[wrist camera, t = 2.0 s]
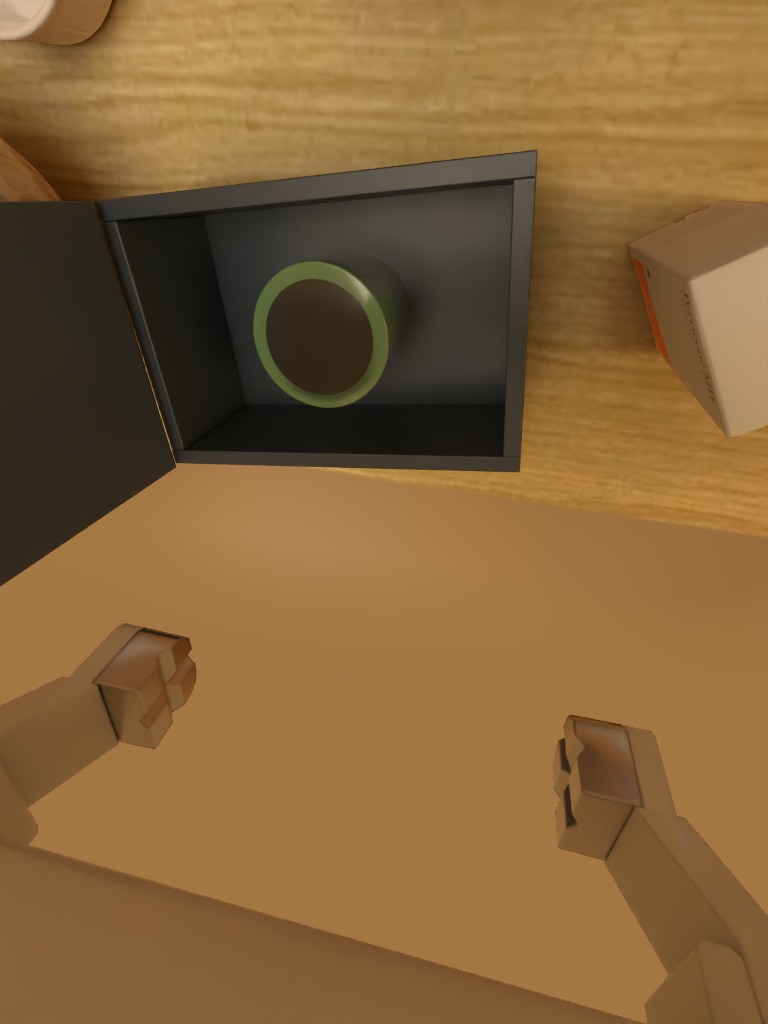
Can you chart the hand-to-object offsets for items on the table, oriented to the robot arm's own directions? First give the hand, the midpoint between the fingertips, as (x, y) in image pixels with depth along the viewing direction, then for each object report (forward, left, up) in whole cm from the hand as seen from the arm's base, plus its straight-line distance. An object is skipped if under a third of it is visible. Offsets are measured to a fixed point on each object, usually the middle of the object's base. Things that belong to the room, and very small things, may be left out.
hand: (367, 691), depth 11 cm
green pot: (+6, -4, -23) cm, 24 cm away
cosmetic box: (-11, -4, -24) cm, 27 cm away
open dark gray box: (+6, -4, -24) cm, 25 cm away
